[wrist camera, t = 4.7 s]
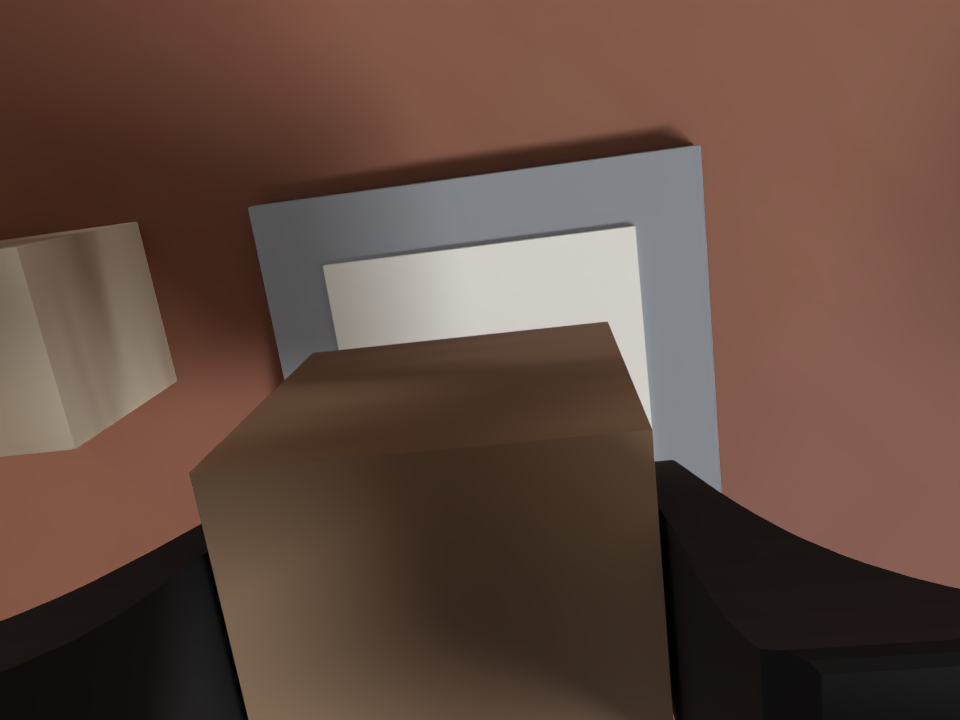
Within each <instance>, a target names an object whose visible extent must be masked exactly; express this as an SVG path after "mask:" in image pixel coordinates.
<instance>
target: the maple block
mask: <svg viewBox="0 0 960 720" xmlns="http://www.w3.org/2000/svg"><path fill="white" fill-rule="evenodd" d="M175 382H177V378H176V374H175V370H174V366H173V362H172V358H171V354H170V350H169V346H168V342H167V338H166V334H165V330H164V326H163V322H162V318H161V314H160V310H159V306H158V302H157V298H156V294H155V290H154V286H153V282H152V278H151V274H150V270H149V266H148V262H147V258H146V254H145V250H144V246H143V242H142V238H141V235H140V231H139V227H138V223H137V222H129V223H122V224H115V225H108V226H101V227H93V228H86V229H79V230H72V231H64V232H57V233H50V234H43V235H35V236H28V237H21V238H14V239H7V240H0V457H3V456H13V455H23V454H32V453H42V452H51V451H61V450H71V449H76V448H78V447H79V446H81V445H82V444H84V443H85V442H87V441H88V440H90V439H91V438H93V437H94V436H96V435H97V434H99V433H100V432H102V431H103V430H105V429H106V428H108V427H109V426H111V425H112V424H114V423H115V422H117V421H118V420H120V419H121V418H123V417H124V416H126V415H127V414H129V413H130V412H132V411H133V410H135V409H136V408H138V407H139V406H141V405H142V404H144V403H145V402H147V401H148V400H150V399H151V398H153V397H154V396H156V395H157V394H159V393H160V392H162V391H163V390H165V389H166V388H168V387H169V386H171V385H172V384H174V383H175Z"/></svg>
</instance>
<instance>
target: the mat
mask: <svg viewBox="0 0 960 720" xmlns="http://www.w3.org/2000/svg"><path fill="white" fill-rule="evenodd" d="M248 211H249V216H250V221H251V225H252V230H253V235H254V239H255V244H256V249H257V254H258V258H259V263H260V268H261V272H262V277H263V282H264V286H265V291H266V296H267V301H268V305H269V310H270V315H271V319H272V324H273V329H274V334H275V338H276V343H277V348H278V352H279V357H280V362H281V367H282V371H283V376H284V380H285V379H286V378H287V377H288V376H289V375H290V374H291V373H292V372H293V371H294V370H295V369H296V368H297V367H298V366H300V365H301V364H302V363H303V362H304V361H305V360H306V359H307V358H308V357H309V356H310V355H311V354H312V353H316V352H326V351H335V350H345V349H354V348H363V347H373V346H382V345H391V344H401V343H410V342H420V341H429V340H438V339H448V338H457V337H466V336H476V335H485V334H495V333H504V332H513V331H523V330H532V329H541V328H551V327H560V326H570V325H579V324H588V323H598V322H607V321H608V324H609V326H610V328H611V331H612V333H613V336H614V338H615V340H616V343H617V345H618V348H619V350H620V353H621V355H622V357H623V360H624V362H625V365H626V367H627V369H628V372H629V374H630V377H631V379H632V382H633V384H634V386H635V389H636V391H637V394H638V396H639V399H640V401H641V403H642V406H643V408H644V411H645V413H646V415H647V418H648V420H649V423H650V425H651V428H652V431H653V445H654V459H655V461H666V460H674V461H676V462H678V463H679V464H681V465H682V466H683V467H685V468H686V469H688V470H689V471H690V472H692V473H693V474H695V475H696V476H697V477H699V478H700V479H702V480H703V481H704V482H706V483H707V484H709V485H710V486H712V487H713V488H715V489H716V490H717V491H719V492H720V493H722V492H721V476H720V459H719V443H718V426H717V409H716V393H715V376H714V360H713V343H712V327H711V310H710V293H709V277H708V260H707V244H706V227H705V210H704V194H703V177H702V161H701V145H690V146H683V147H675V148H668V149H661V150H654V151H646V152H639V153H632V154H624V155H617V156H610V157H603V158H595V159H588V160H581V161H574V162H566V163H559V164H552V165H545V166H537V167H530V168H523V169H515V170H508V171H501V172H494V173H486V174H479V175H472V176H465V177H457V178H450V179H443V180H436V181H428V182H421V183H414V184H406V185H399V186H392V187H385V188H377V189H370V190H363V191H356V192H348V193H341V194H334V195H327V196H319V197H312V198H305V199H297V200H290V201H283V202H276V203H268V204H261V205H255V206H251V207H248Z"/></svg>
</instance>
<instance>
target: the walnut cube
mask: <svg viewBox="0 0 960 720" xmlns="http://www.w3.org/2000/svg"><path fill="white" fill-rule="evenodd" d="M189 474H190V478H191V482H192V486H193V490H194V494H195V499H196V503H197V507H198V511H199V515H200V519H201V524H202V528H203V532H204V536H205V540H206V544H207V549H208V553H209V557H210V561H211V565H212V569H213V574H214V578H215V582H216V586H217V590H218V594H219V598H220V603H221V607H222V611H223V615H224V619H225V623H226V628H227V632H228V636H229V640H230V644H231V648H232V653H233V657H234V661H235V665H236V669H237V673H238V678H239V682H240V686H241V690H242V694H243V698H244V703H245V707H246V711H247V715H248V719H249V720H673V711H672V697H671V683H670V669H669V655H668V641H667V627H666V613H665V599H664V585H663V571H662V557H661V543H660V529H659V515H658V501H657V487H656V473H655V459H654V445H653V431H652V428H651V425H650V423H649V420H648V418H647V415H646V413H645V411H644V408H643V406H642V403H641V401H640V399H639V396H638V394H637V391H636V389H635V386H634V384H633V382H632V379H631V377H630V374H629V372H628V369H627V367H626V365H625V362H624V360H623V357H622V355H621V353H620V350H619V348H618V345H617V343H616V340H615V338H614V336H613V333H612V331H611V328H610V326H609V324H608V321H607V322H598V323H588V324H579V325H570V326H560V327H551V328H541V329H532V330H523V331H513V332H504V333H495V334H485V335H476V336H466V337H457V338H448V339H438V340H429V341H420V342H410V343H401V344H391V345H382V346H373V347H363V348H354V349H345V350H335V351H326V352H316V353H312V354H311V355H310V356H309V357H308V358H307V359H306V360H305V361H304V362H303V363H302V364H301V365H300V366H298V367H297V368H296V369H295V370H294V371H293V372H292V373H291V374H290V375H289V376H288V377H287V378H286V379H285V380H284V381H283V382H282V383H281V384H280V385H279V386H278V387H277V388H276V389H275V390H274V391H273V392H272V393H271V394H270V395H269V396H268V397H267V398H266V399H265V400H264V401H263V402H262V403H261V404H260V405H259V406H257V407H256V408H255V409H254V410H253V411H252V412H251V413H250V414H249V415H248V416H247V417H246V418H245V419H244V420H243V421H242V422H241V423H240V424H239V425H238V426H237V427H236V428H235V429H234V430H233V431H232V432H231V433H230V434H229V435H228V436H227V437H226V438H225V439H224V440H223V441H222V442H221V443H220V444H219V445H218V446H216V447H215V448H214V449H213V450H212V451H211V452H210V453H209V454H208V455H207V456H206V457H205V458H204V459H203V460H202V461H201V462H200V463H199V464H198V465H197V466H196V467H195V468H194V469H193V470H192V471H191V472H190V473H189Z"/></svg>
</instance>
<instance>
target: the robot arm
mask: <svg viewBox="0 0 960 720" xmlns="http://www.w3.org/2000/svg"><path fill="white" fill-rule="evenodd" d="M655 473H656V487H657V501H658V515H659V529H660V543H661V557H662V571H663V585H664V599H665V613H666V627H667V641H668V655H669V669H670V683H671V697H672V711H673V715H674V718H675V720H960V589H958V588H953V587H948V586H944V585H940V584H936V583H932V582H928V581H924V580H920V579H916V578H912V577H909V576H905V575H902V574H899V573H895V572H892V571H889V570H886V569H882V568H879V567H876V566H872V565H869V564H866V563H863V562H860V561H857V560H854V559H852V558H849V557H846V556H843V555H841V554H838V553H836V552H833V551H831V550H829V549H826V548H824V547H821V546H819V545H817V544H814V543H812V542H809V541H807V540H805V539H802V538H800V537H798V536H796V535H794V534H792V533H790V532H788V531H786V530H784V529H782V528H780V527H778V526H776V525H774V524H772V523H771V522H769V521H767V520H765V519H763V518H761V517H760V516H758V515H756V514H754V513H752V512H751V511H749V510H747V509H746V508H744V507H742V506H741V505H739V504H738V503H736V502H734V501H733V500H731V499H730V498H728V497H727V496H725V495H723V494H722V493H720V492H719V491H717V490H716V489H715V488H713V487H712V486H710V485H709V484H707V483H706V482H704V481H703V480H702V479H700V478H699V477H697V476H696V475H695V474H693V473H692V472H690V471H689V470H688V469H686V468H685V467H683V466H682V465H681V464H679V463H678V462H676V461H674V460H666V461H655ZM0 720H249V719H248V715H247V711H246V707H245V703H244V698H243V694H242V690H241V686H240V682H239V678H238V673H237V669H236V665H235V661H234V657H233V653H232V648H231V644H230V640H229V636H228V632H227V628H226V623H225V619H224V615H223V611H222V607H221V603H220V598H219V594H218V590H217V586H216V582H215V578H214V574H213V569H212V565H211V561H210V557H209V553H208V549H207V544H206V540H205V536H204V532H203V528H202V524H200V525H199V526H197V527H195V528H193V529H191V530H190V531H188V532H186V533H184V534H182V535H180V536H179V537H177V538H175V539H173V540H171V541H170V542H168V543H166V544H164V545H162V546H160V547H159V548H157V549H155V550H153V551H151V552H149V553H147V554H146V555H144V556H142V557H140V558H138V559H136V560H134V561H132V562H130V563H128V564H126V565H124V566H122V567H120V568H118V569H116V570H114V571H112V572H111V573H109V574H107V575H105V576H103V577H101V578H99V579H97V580H95V581H93V582H91V583H89V584H87V585H85V586H83V587H80V588H78V589H76V590H74V591H72V592H70V593H67V594H65V595H63V596H61V597H59V598H56V599H54V600H51V601H49V602H47V603H44V604H42V605H40V606H37V607H35V608H32V609H30V610H28V611H25V612H23V613H21V614H18V615H16V616H13V617H10V618H8V619H5V620H3V621H0Z"/></svg>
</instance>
